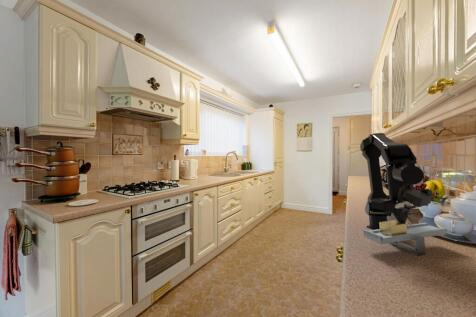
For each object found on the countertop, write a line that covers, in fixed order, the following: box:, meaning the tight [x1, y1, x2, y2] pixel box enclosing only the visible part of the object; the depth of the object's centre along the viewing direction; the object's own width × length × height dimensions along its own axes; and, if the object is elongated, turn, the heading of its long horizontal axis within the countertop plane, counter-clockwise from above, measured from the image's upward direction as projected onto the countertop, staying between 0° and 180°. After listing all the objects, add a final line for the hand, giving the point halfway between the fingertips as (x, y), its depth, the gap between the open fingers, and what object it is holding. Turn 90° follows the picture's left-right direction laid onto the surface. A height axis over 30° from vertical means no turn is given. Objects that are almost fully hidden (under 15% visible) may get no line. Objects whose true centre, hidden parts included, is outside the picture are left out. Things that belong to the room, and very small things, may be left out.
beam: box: [363, 222, 448, 245], centre depth 70 cm, size 8×26×3 cm, turn 100°
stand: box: [389, 236, 426, 257], centre depth 70 cm, size 11×2×6 cm, turn 10°
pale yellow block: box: [379, 220, 407, 236], centre depth 69 cm, size 4×6×4 cm
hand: (402, 226), depth 70 cm, fingers closed
